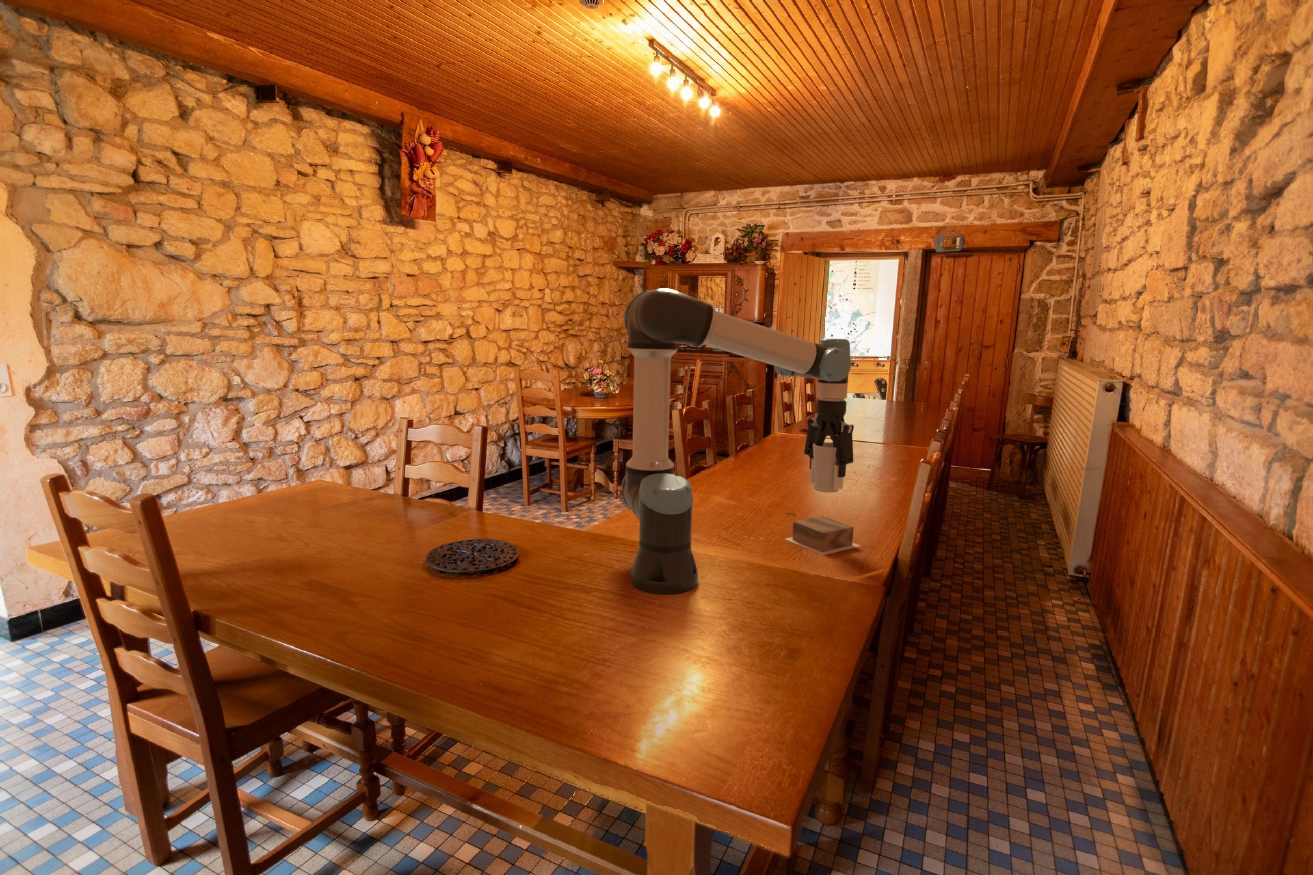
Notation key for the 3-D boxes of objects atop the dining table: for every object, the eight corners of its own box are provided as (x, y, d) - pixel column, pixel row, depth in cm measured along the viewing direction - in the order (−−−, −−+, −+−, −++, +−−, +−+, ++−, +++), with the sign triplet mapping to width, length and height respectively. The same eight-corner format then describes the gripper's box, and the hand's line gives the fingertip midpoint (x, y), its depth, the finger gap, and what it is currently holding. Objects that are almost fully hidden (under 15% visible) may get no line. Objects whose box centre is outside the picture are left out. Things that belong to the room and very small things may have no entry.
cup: (834, 495, 157) (837, 449, 155) (805, 489, 161) (808, 445, 159) (846, 489, 163) (849, 444, 161) (817, 484, 168) (820, 441, 166)
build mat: (822, 557, 155) (823, 554, 155) (784, 540, 167) (784, 538, 167) (860, 547, 162) (860, 545, 162) (821, 532, 174) (821, 530, 174)
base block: (822, 552, 157) (824, 533, 156) (792, 539, 166) (793, 521, 166) (852, 545, 163) (853, 526, 162) (821, 533, 172) (822, 516, 171)
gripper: (873, 402, 151) (866, 492, 155) (813, 394, 169) (808, 476, 172) (852, 404, 148) (846, 496, 152) (792, 396, 165) (788, 479, 169)
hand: (826, 485), depth 162 cm, fingers closed on cup, 7 cm apart
